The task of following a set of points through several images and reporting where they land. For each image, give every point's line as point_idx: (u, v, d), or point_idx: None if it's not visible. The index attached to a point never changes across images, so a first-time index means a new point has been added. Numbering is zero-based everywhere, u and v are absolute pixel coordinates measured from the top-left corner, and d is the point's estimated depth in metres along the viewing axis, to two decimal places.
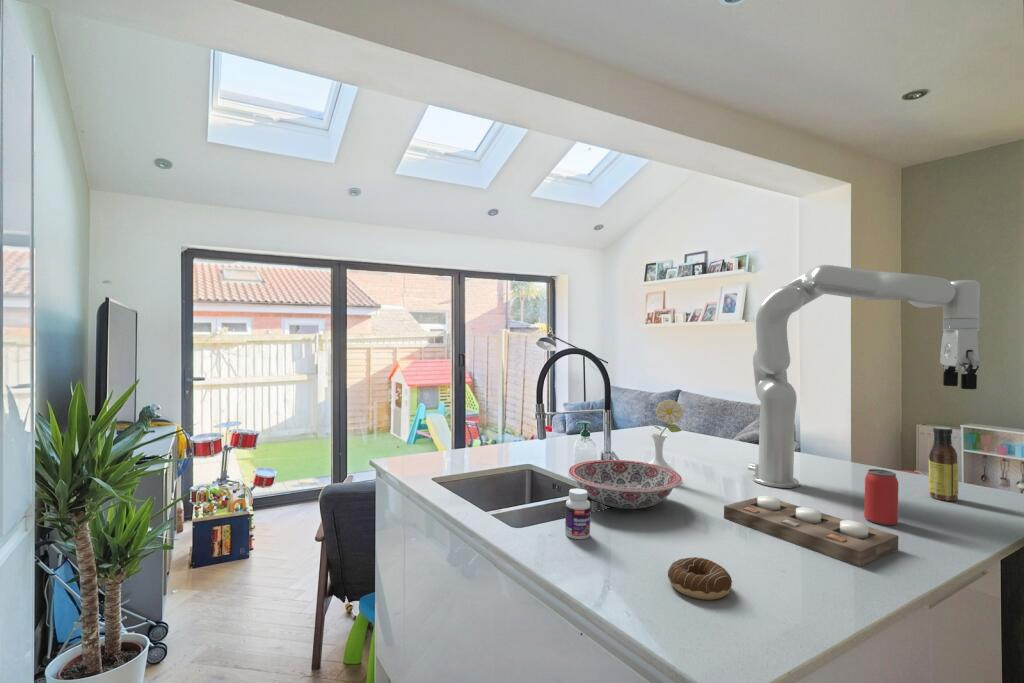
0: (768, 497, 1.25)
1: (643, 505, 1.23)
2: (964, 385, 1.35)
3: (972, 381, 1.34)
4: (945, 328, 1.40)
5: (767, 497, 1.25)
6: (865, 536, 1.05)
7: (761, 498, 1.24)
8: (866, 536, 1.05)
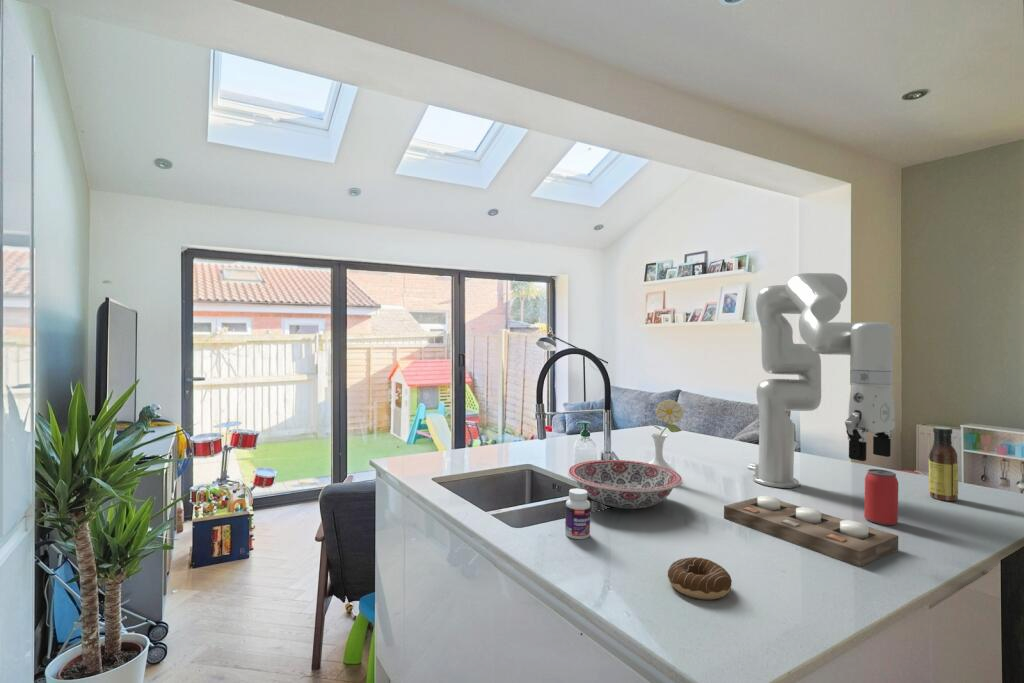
0: (768, 497, 1.25)
1: (643, 505, 1.23)
2: None
3: None
4: (891, 384, 1.07)
5: (767, 497, 1.25)
6: (865, 536, 1.05)
7: (761, 498, 1.24)
8: (866, 536, 1.05)
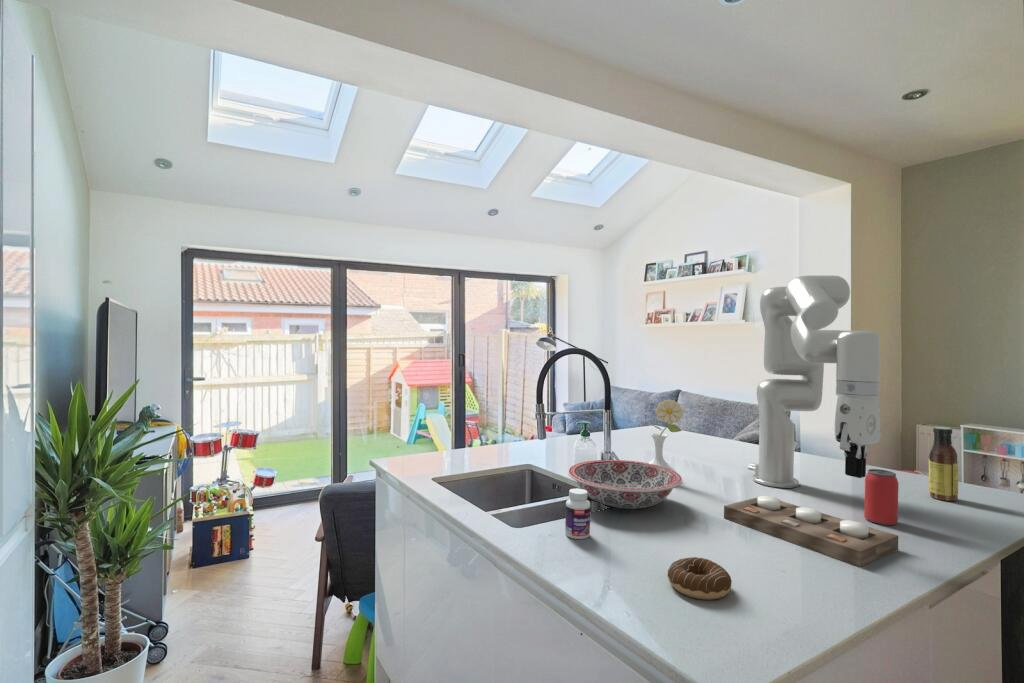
0: (768, 497, 1.25)
1: (643, 505, 1.23)
2: None
3: None
4: (878, 395, 1.04)
5: (767, 497, 1.25)
6: (865, 536, 1.05)
7: (761, 498, 1.24)
8: (866, 536, 1.05)
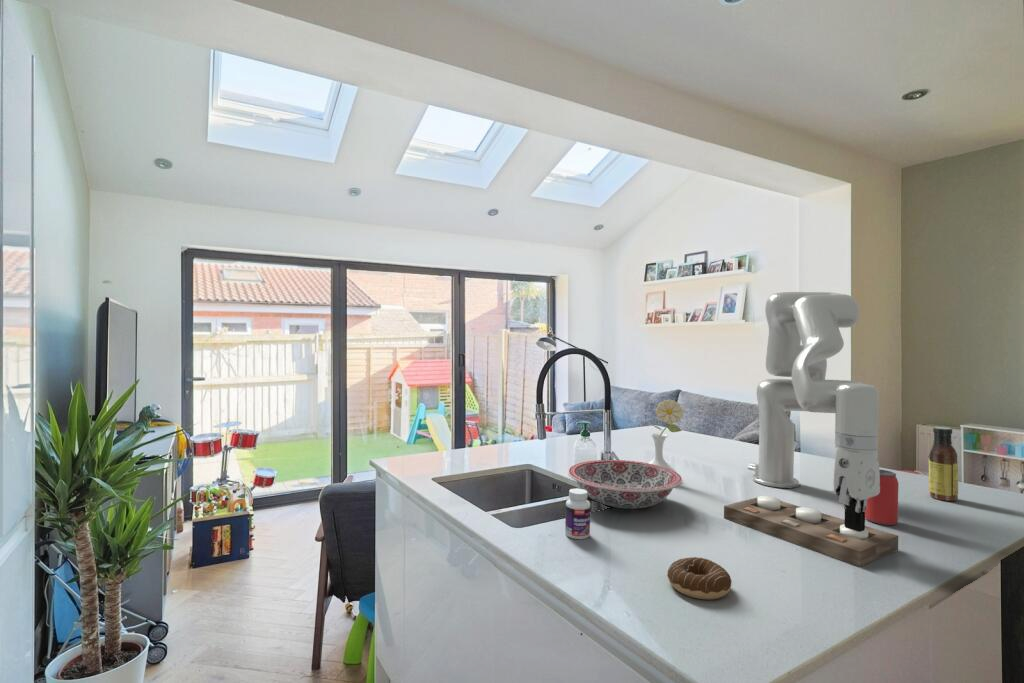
0: (768, 497, 1.25)
1: (643, 505, 1.23)
2: None
3: None
4: (876, 449, 1.04)
5: (767, 497, 1.25)
6: None
7: (761, 498, 1.24)
8: None
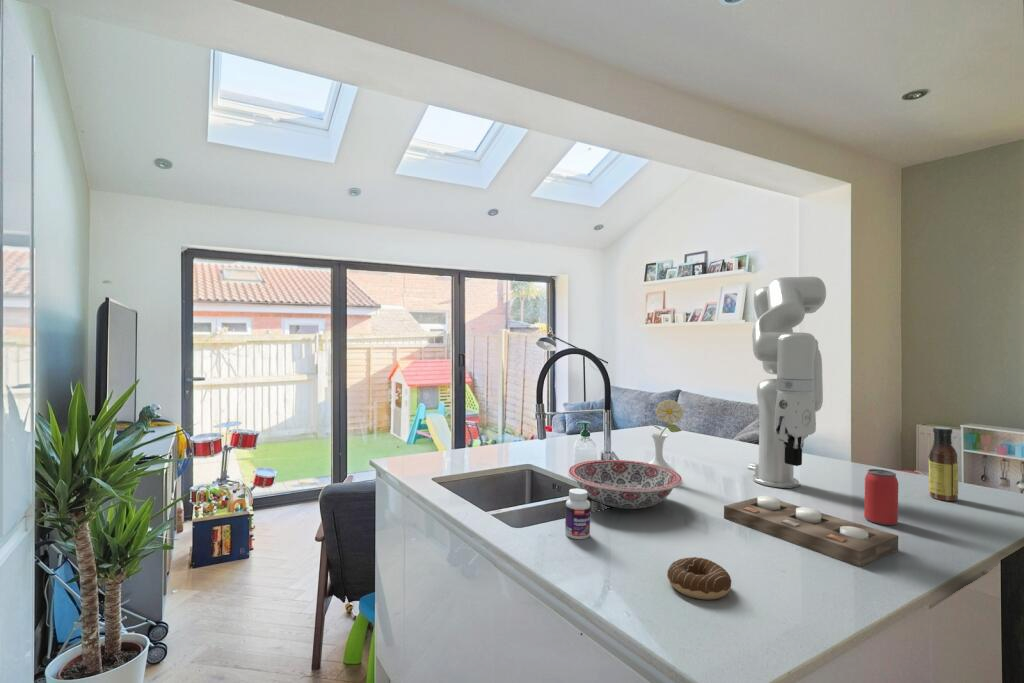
0: (768, 497, 1.25)
1: (643, 505, 1.23)
2: None
3: None
4: (812, 391, 1.16)
5: (767, 497, 1.25)
6: None
7: (761, 498, 1.24)
8: None
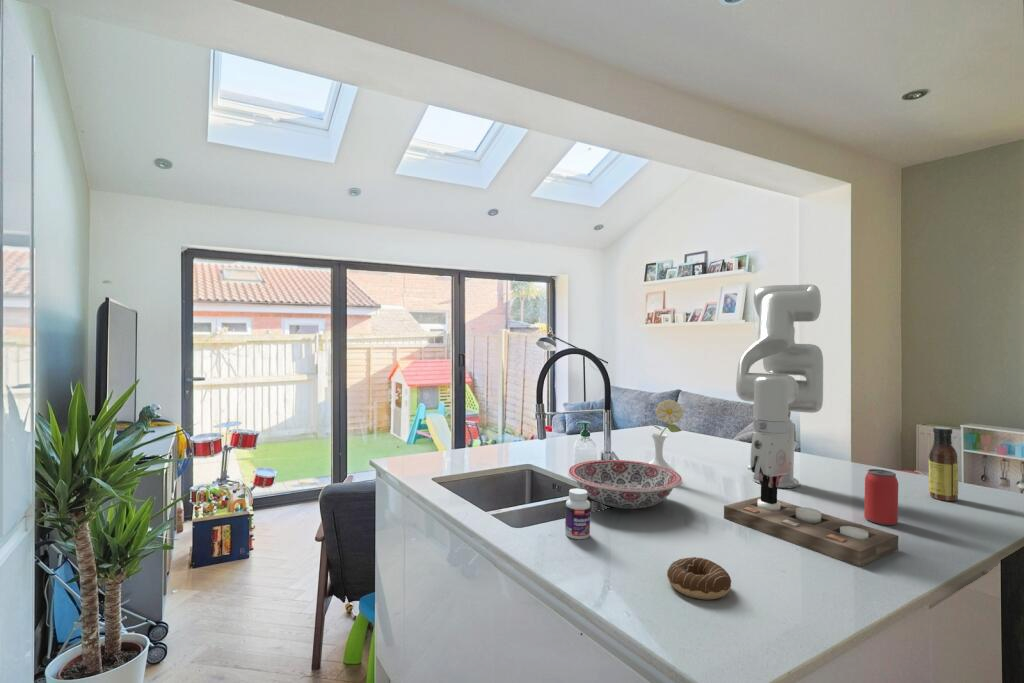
0: None
1: (643, 505, 1.23)
2: None
3: None
4: (786, 432, 1.20)
5: None
6: None
7: (761, 501, 1.24)
8: None
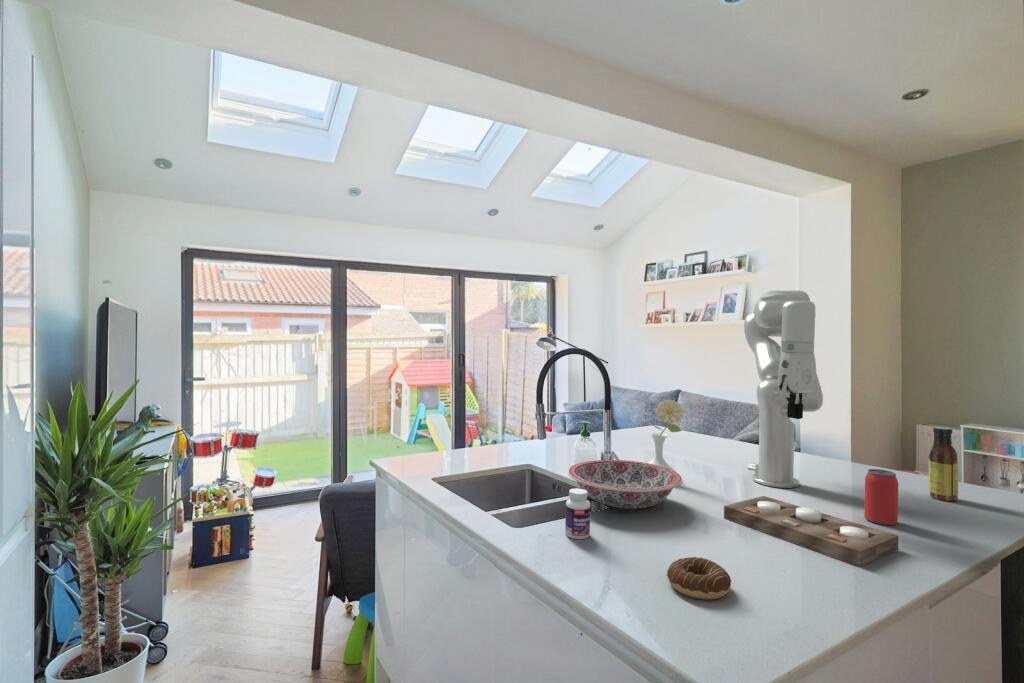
0: (768, 502, 1.25)
1: (643, 505, 1.23)
2: None
3: None
4: (812, 352, 1.29)
5: (767, 502, 1.25)
6: None
7: (761, 503, 1.24)
8: None
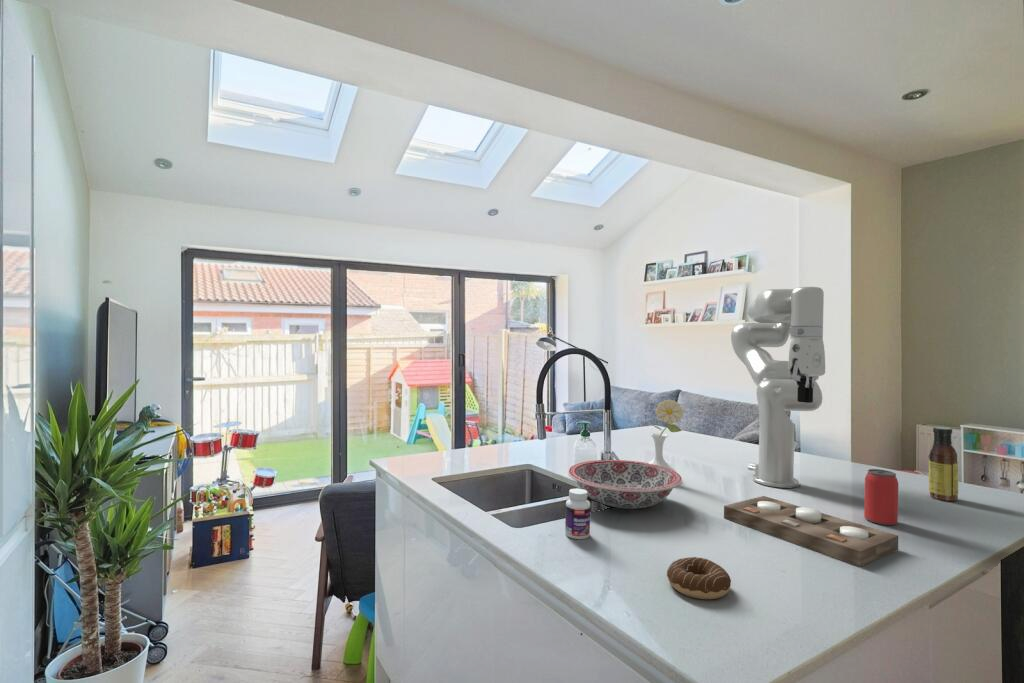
0: (768, 502, 1.25)
1: (643, 505, 1.23)
2: None
3: None
4: (821, 336, 1.32)
5: (767, 502, 1.25)
6: None
7: (761, 503, 1.24)
8: None
